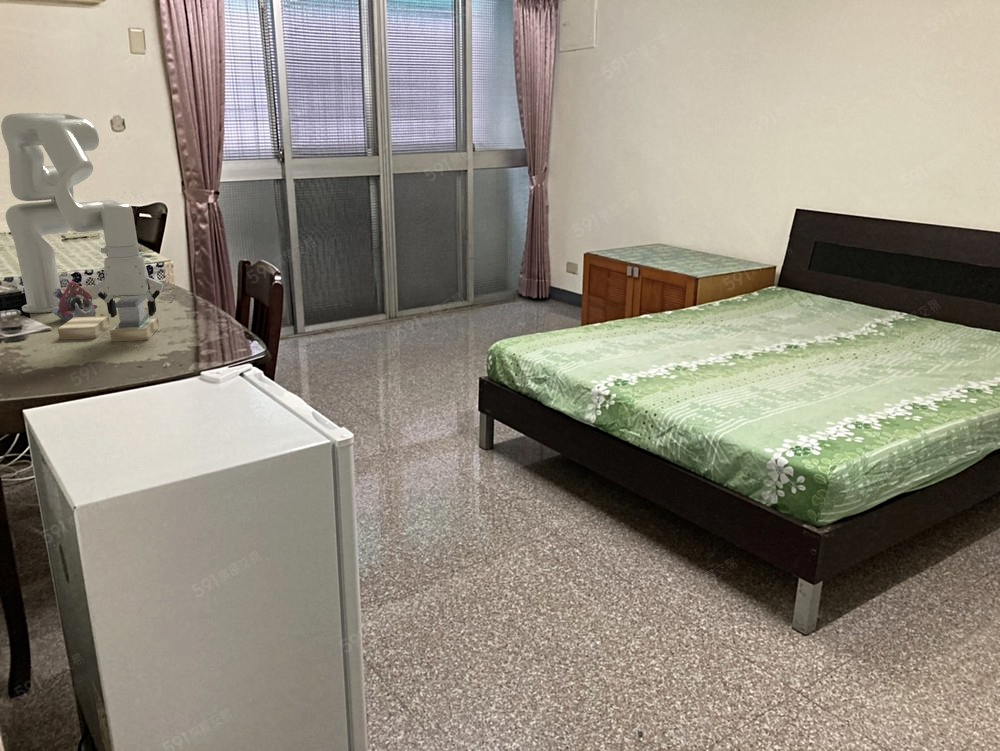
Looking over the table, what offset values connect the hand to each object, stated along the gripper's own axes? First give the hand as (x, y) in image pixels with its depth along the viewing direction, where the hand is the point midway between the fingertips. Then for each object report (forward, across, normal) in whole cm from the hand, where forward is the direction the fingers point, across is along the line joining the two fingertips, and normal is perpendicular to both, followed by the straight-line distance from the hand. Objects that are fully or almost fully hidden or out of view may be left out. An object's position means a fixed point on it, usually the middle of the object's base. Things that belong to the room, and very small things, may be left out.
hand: (133, 315), depth 204 cm
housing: (+2, 0, 0) cm, 2 cm away
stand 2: (+5, 0, 0) cm, 5 cm away
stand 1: (+5, -14, +4) cm, 15 cm away
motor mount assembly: (+6, -22, +21) cm, 31 cm away
